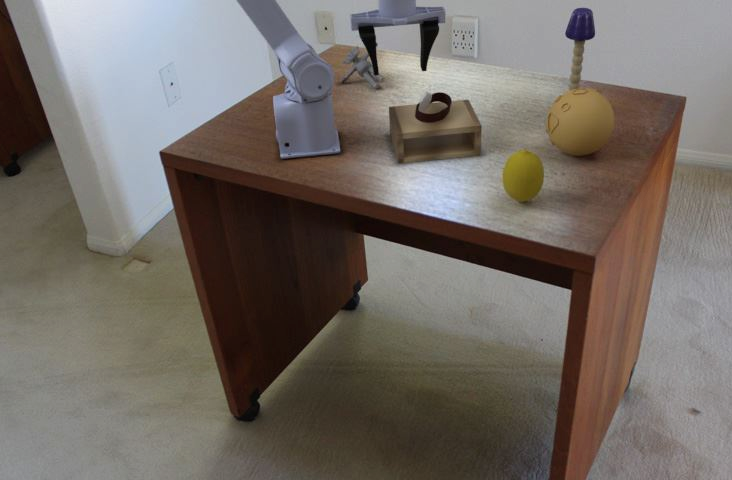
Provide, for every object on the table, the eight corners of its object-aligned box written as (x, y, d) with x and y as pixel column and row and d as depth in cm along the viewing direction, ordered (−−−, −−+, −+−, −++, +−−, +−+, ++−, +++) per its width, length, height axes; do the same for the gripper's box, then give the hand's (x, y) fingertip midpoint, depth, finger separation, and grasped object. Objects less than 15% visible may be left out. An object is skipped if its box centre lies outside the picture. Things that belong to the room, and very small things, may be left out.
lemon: (537, 191, 106) (541, 139, 101) (545, 211, 102) (550, 158, 97) (498, 193, 106) (500, 141, 101) (504, 213, 102) (507, 160, 97)
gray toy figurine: (354, 98, 136) (326, 69, 140) (368, 110, 142) (340, 82, 145) (392, 56, 134) (363, 28, 138) (405, 70, 140) (376, 43, 143)
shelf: (397, 163, 115) (396, 133, 112) (390, 135, 123) (388, 106, 120) (480, 155, 116) (481, 125, 113) (468, 128, 124) (468, 99, 121)
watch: (433, 103, 120) (433, 82, 118) (459, 109, 118) (459, 87, 115) (407, 121, 115) (406, 99, 113) (433, 128, 113) (433, 105, 110)
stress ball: (616, 143, 117) (625, 81, 110) (600, 171, 110) (609, 107, 104) (553, 133, 120) (559, 73, 114) (535, 160, 113) (540, 98, 107)
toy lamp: (591, 112, 126) (604, 11, 116) (567, 118, 125) (578, 16, 114) (575, 102, 129) (586, 3, 119) (552, 107, 128) (561, 8, 118)
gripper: (349, -7, 108) (356, 84, 116) (448, -15, 109) (448, 76, 117) (346, -20, 113) (353, 68, 122) (441, -28, 114) (441, 60, 122)
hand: (399, 71), depth 120 cm, fingers open, 7 cm apart
